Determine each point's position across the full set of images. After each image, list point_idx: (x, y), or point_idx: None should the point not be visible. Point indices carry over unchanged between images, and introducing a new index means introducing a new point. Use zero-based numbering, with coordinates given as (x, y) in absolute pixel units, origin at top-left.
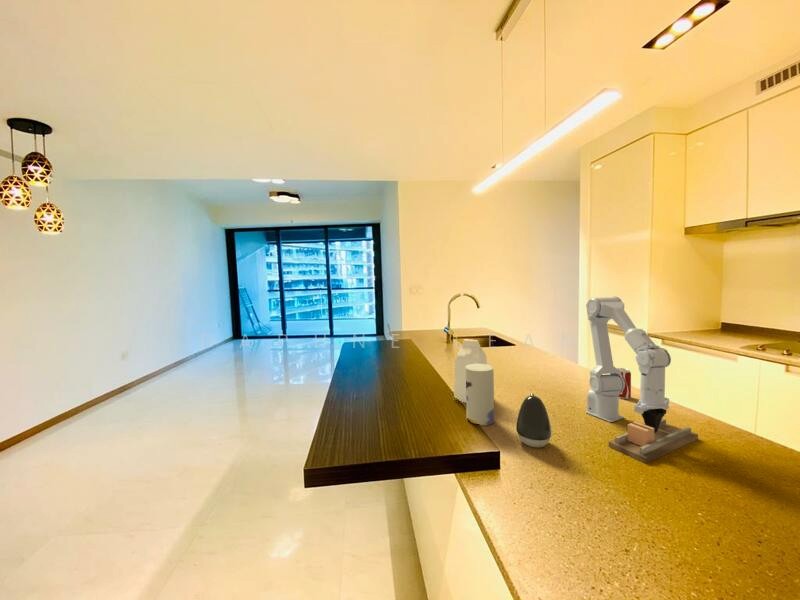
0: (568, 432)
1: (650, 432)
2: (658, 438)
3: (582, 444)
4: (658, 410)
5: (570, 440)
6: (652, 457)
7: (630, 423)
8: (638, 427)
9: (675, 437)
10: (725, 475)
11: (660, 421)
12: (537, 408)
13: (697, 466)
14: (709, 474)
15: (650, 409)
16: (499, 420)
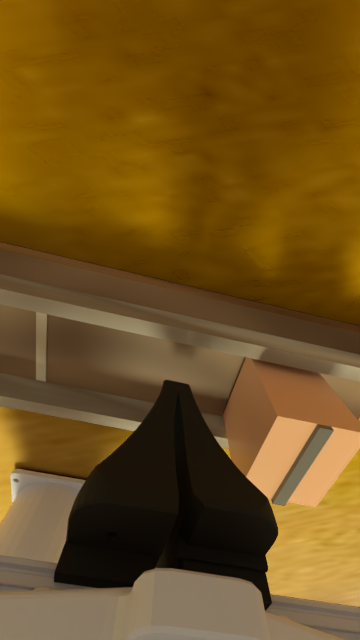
0: (292, 528)
1: (312, 410)
2: (145, 352)
3: (356, 488)
4: (167, 540)
5: (348, 512)
6: (352, 328)
7: (291, 502)
8: (328, 470)
9: (93, 301)
10: (294, 21)
11: (149, 419)
12: None
13: (277, 167)
14: (336, 101)
15: (268, 603)
16: None
